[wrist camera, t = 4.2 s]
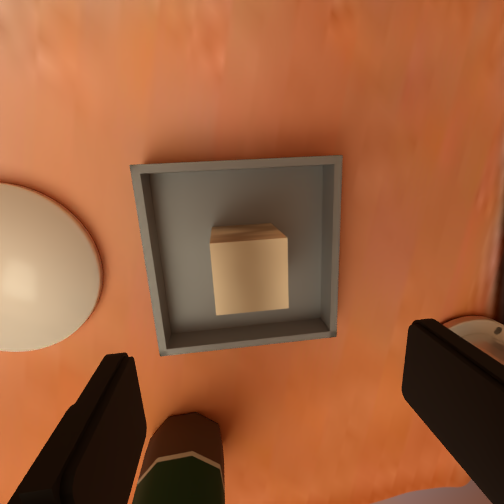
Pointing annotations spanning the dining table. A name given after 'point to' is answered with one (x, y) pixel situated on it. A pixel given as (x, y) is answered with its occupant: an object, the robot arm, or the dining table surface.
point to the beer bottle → (183, 463)
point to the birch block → (249, 268)
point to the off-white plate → (43, 270)
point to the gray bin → (230, 214)
